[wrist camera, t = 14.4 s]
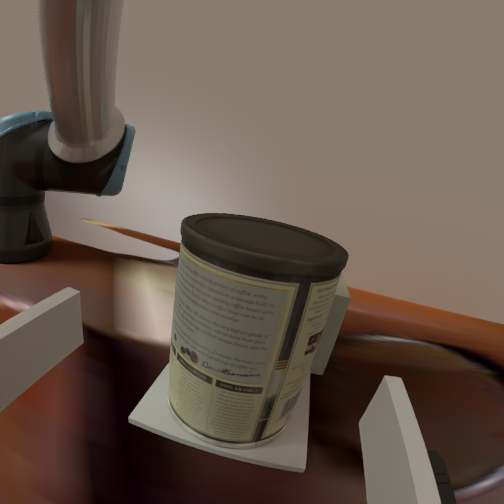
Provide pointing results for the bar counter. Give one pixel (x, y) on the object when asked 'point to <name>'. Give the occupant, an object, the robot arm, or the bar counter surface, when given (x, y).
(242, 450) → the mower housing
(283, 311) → the coffee can
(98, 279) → the bar counter surface
